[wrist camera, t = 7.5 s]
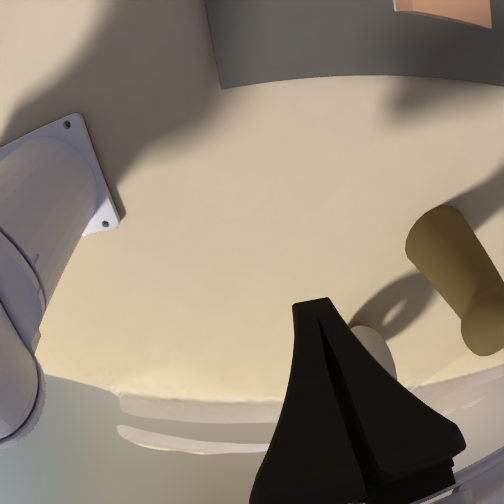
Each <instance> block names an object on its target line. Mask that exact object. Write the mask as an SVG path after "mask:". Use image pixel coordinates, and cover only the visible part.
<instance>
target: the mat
mask: <svg viewBox="0 0 504 504" xmlns="http://www.w3.org/2000/svg"><path fill="white" fill-rule="evenodd" d="M205 6H206V11H207V16H208V21H209V27H210V32H211V37H212V42H213V48H214V53H215V58H216V63H217V68H218V74H219V79H220V84H221V89H227V88H233V87H239V86H245V85H252V84H259V83H266V82H274V81H282V80H291V79H302V78H314V77H329V76H352V75H397V76H420V77H434V78H445V79H455V80H464V81H471V82H478V83H485V84H491V85H497V86H503V87H504V0H490V10H491V23H492V29H489V28H483V27H477V26H471V25H467V24H463V23H459V22H454V21H450V20H445V19H440V18H435V17H430V16H424V15H418V14H412V13H404V12H396V11H395V10H394V2H393V0H205Z"/></svg>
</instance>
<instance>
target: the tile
mask: <svg viewBox="0 0 504 504" xmlns="http://www.w3.org/2000/svg"><path fill="white" fill-rule="evenodd" d="M393 2H394V10H395V11H396V12H404V13H412V14H418V15H424V16H430V17H435V18H440V19H445V20H450V21H454V22H459V23H463V24H467V25H471V26H477V27H483V28H489V29H492V23H491V10H490V0H393Z"/></svg>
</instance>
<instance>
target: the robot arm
mask: <svg viewBox="0 0 504 504" xmlns="http://www.w3.org/2000/svg"><path fill="white" fill-rule="evenodd" d="M66 121H68V122H70V125H71V126H70V127H67V126H66ZM104 221H107V222H108V223H109V224H106V223H104ZM119 224H120V217H119V215H118V212H117V210H116V207H115V205H114V202H113V200H112V197H111V195H110V192H109V190H108V187H107V185H106V182H105V179H104V177H103V174H102V171H101V169H100V166H99V163H98V161H97V158H96V155H95V152H94V149H93V146H92V144H91V141H90V138H89V135H88V132H87V129H86V126H85V123H84V119H83V117H82V115H81V114H79V113H73V114H70V115H68V116H66V117H63V118H61V119H58V120H56V121H54V122H52V123H49V124H47V125H45V126H43V127H41V128H38V129H36V130H34V131H32V132H30V133H28V134H26V135H24V136H22V137H20V138H18V139H16V140H14V141H12V142H10V143H8V144H6V145H5V146H3V147H1V148H0V449H3V448H7V447H10V446H13V445H15V444H16V443H19V442H20V441H21V440H23V439H24V438H25V437H27V435H28V434H29V433H30V432H31V431H32V430H33V429H34V427H35V426H36V424H37V422H38V421H39V418H40V416H41V414H42V411H43V407H44V404H45V397H46V383H45V378H44V373H43V370H42V368H41V365H40V363H39V362H38V360H37V358H36V357H35V355H34V354H35V351H36V348H37V345H38V343H39V340H40V337H41V334H40V331H39V326H40V323H41V321H42V319H43V316H44V313H45V311H46V308H47V306H48V304H49V302H50V299H51V297H52V295H53V293H54V290H55V288H56V286H57V284H58V282H59V280H60V277H61V275H62V273H63V271H64V269H65V267H66V265H67V263H68V261H69V259H70V257H71V255H72V253H73V251H74V249H75V248H76V246H77V244H78V242H79V240H80V238H81V236H84V235H89V234H93V233H97V232H101V231H106V230H110V229H114V228H117V227H118V226H119ZM292 312H293V324H294V349H293V359H292V365H291V372H290V378H289V383H288V387H287V392H286V396H285V400H284V404H283V407H282V411H281V414H280V417H279V421H278V424H277V427H276V430H275V432H274V435H273V438H272V440H271V443H270V445H269V448H268V450H267V453H266V455H265V457H264V460H263V462H262V464H261V466H260V468H259V470H258V473H257V475H256V478H255V482H254V485H253V488H252V491H251V495H250V499H249V504H364V503H365V504H420V503H422V502H425V501H427V500H429V499H432V498H434V497H436V496H439V495H441V494H442V493H445V492H447V491H449V490H451V489H453V492H452V494H451V495H449V496H446V497H444V498H441V499H439V500H436V501H434V502H432V503H430V504H504V446H503V447H501V448H500V449H498V450H496V451H495V452H493V453H491V454H490V455H488V456H486V457H484V458H483V459H481V460H479V461H477V462H475V463H473V464H471V465H469V466H468V467H466V468H464V469H462V470H460V471H458V472H455V473H453V471H452V467H453V466H454V462H453V459H452V458H453V457H454V456H456V455H457V454H459V453H460V452H461V451H463V450H465V448H466V443H465V440H464V437H463V435H462V433H461V431H460V430H459V428H458V426H457V425H456V424H455V423H453V422H452V421H450V420H448V419H447V418H445V417H444V416H442V415H440V414H439V413H437V412H436V411H434V410H433V409H432V408H430V407H429V406H427V405H426V404H425V403H423V402H422V401H421V400H420V399H418V398H417V397H416V396H415V395H413V394H412V393H411V392H410V391H408V390H407V389H406V388H405V387H403V386H402V385H401V384H400V383H399V382H398V381H397V380H396V379H395V378H394V377H393V376H391V375H390V374H389V373H388V372H387V371H386V370H385V369H384V368H383V367H382V366H381V365H380V364H379V362H378V361H377V360H376V359H375V358H374V357H373V356H372V355H371V354H370V353H369V351H368V350H367V349H366V348H365V347H364V346H363V344H362V343H361V342H360V341H359V339H358V338H357V337H356V336H355V334H354V333H353V332H352V331H351V329H350V328H349V327H348V325H347V324H346V323H345V321H344V320H343V318H342V317H341V316H340V314H339V313H338V311H337V310H336V308H335V306H334V305H333V303H332V302H331V300H330V299H329V298H328V297H325V298H320V299H315V300H310V301H304V302H299V303H295V304H293V305H292Z"/></svg>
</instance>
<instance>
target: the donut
mask: <svg viewBox="0 0 504 504" xmlns="http://www.w3.org/2000/svg"><path fill="white" fill-rule="evenodd" d="M351 331H352V332H353V333H354V334H355V336H356V337H357V338H358V339H359V341H360V342H361V343H362V344H363V346H364V347H365V348H366V349H367V350H368V351H369V353H370V354H371V355H372V356H373V357H374V358H375V359H376V360H377V361H378V362H379V364H380V365H381V366H382V367H383V368H384V369H385V370H386V371H387V372H388V373H389V374H390V375H391V376H393V377H394V378H395V379H396V380H397V375H396V369H395V364H394V361H393V358H392V355H391V352H390V350H389V348H388V346H387V344H386V342H385V340H384V338H383V337H382V336H381V335H380V334H379V333H378V332H377V331H376V330H374V329H373V328H369V327H366V326H363V325H361V326H355V327H352V328H351Z"/></svg>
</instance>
